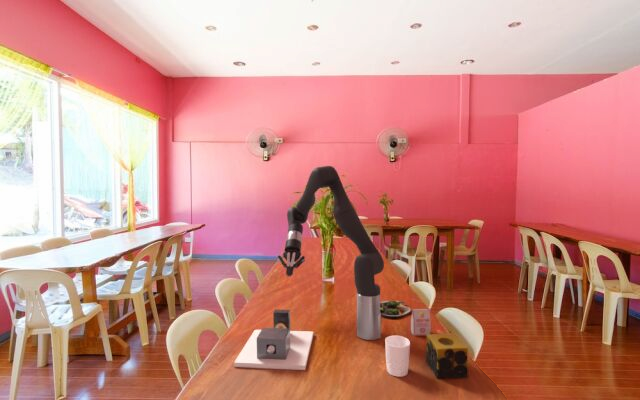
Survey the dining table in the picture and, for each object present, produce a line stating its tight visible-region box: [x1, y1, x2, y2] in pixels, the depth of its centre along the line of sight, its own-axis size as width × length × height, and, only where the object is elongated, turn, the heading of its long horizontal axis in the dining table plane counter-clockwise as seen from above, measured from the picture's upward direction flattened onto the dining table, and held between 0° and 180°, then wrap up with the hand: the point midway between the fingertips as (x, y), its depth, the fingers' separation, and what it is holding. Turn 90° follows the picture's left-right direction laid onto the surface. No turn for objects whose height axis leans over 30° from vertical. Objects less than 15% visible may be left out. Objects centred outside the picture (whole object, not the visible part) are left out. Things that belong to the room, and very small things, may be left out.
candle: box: [425, 332, 469, 380], centre depth 106 cm, size 10×10×10 cm
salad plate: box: [380, 300, 412, 320], centre depth 156 cm, size 19×18×5 cm
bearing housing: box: [257, 327, 291, 360], centre depth 115 cm, size 10×8×7 cm
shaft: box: [267, 309, 291, 354], centre depth 120 cm, size 6×20×9 cm, turn 175°
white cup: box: [384, 334, 411, 378], centre depth 106 cm, size 8×8×10 cm
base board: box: [233, 329, 314, 371], centre depth 120 cm, size 24×24×2 cm
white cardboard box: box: [410, 308, 432, 337], centre depth 131 cm, size 4×7×10 cm, turn 90°
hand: (289, 275), depth 143 cm, fingers closed
